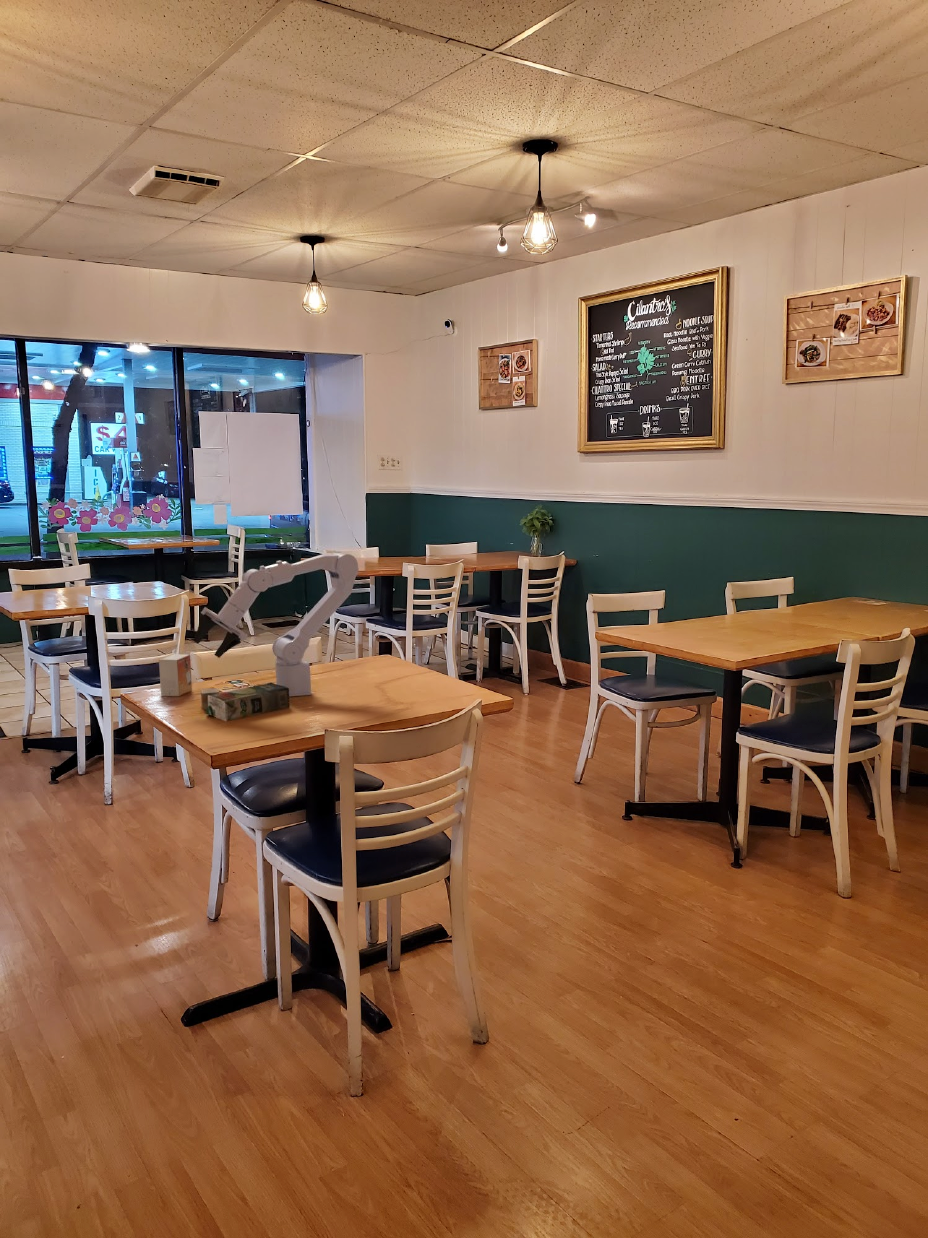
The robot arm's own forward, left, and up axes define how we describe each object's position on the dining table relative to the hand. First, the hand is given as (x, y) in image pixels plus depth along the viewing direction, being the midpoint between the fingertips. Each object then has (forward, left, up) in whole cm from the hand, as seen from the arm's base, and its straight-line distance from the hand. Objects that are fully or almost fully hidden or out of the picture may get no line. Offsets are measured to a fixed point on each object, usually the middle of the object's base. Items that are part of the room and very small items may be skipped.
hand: (206, 649), depth 249 cm
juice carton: (-9, +11, -16) cm, 21 cm away
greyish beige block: (0, +3, -15) cm, 15 cm away
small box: (+8, -16, -15) cm, 23 cm away
